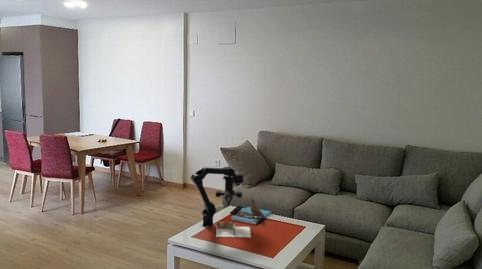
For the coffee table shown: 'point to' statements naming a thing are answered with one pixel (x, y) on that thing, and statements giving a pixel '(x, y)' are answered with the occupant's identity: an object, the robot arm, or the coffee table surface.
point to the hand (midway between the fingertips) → (228, 205)
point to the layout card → (229, 232)
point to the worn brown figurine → (255, 209)
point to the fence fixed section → (224, 224)
